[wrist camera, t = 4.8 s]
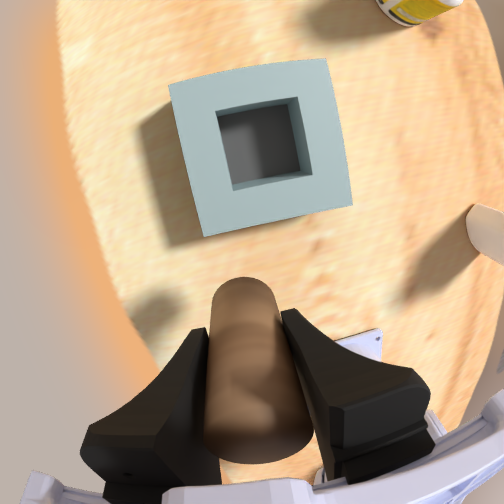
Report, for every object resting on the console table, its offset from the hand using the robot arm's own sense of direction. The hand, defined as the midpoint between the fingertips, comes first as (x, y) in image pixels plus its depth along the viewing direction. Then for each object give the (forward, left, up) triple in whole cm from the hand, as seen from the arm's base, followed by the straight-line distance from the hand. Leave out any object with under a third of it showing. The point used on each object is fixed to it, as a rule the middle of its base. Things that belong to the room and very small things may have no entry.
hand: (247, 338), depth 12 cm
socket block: (+8, -3, -10) cm, 13 cm away
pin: (0, 0, -3) cm, 3 cm away
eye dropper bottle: (-2, -23, -10) cm, 25 cm away
